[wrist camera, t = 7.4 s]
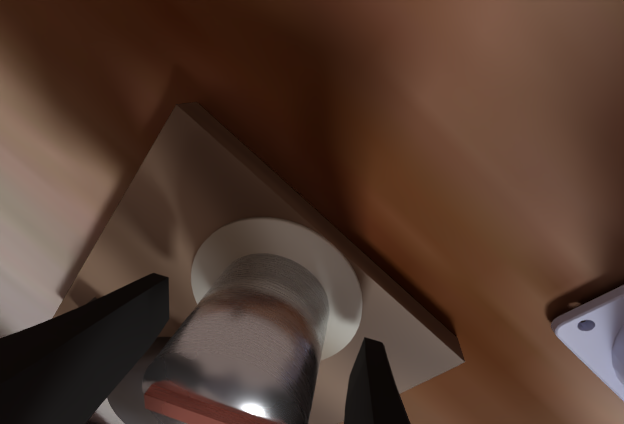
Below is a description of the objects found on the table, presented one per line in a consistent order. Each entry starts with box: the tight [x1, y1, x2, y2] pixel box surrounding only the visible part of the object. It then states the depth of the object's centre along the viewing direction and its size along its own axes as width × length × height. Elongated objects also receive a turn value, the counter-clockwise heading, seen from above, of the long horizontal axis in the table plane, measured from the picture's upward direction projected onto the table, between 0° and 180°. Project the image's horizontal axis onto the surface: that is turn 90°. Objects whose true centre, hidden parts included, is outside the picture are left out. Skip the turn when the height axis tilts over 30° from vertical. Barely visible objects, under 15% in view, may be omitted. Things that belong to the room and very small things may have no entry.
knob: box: [142, 253, 330, 424], centre depth 10 cm, size 5×5×5 cm
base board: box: [53, 102, 465, 424], centre depth 13 cm, size 15×14×3 cm
